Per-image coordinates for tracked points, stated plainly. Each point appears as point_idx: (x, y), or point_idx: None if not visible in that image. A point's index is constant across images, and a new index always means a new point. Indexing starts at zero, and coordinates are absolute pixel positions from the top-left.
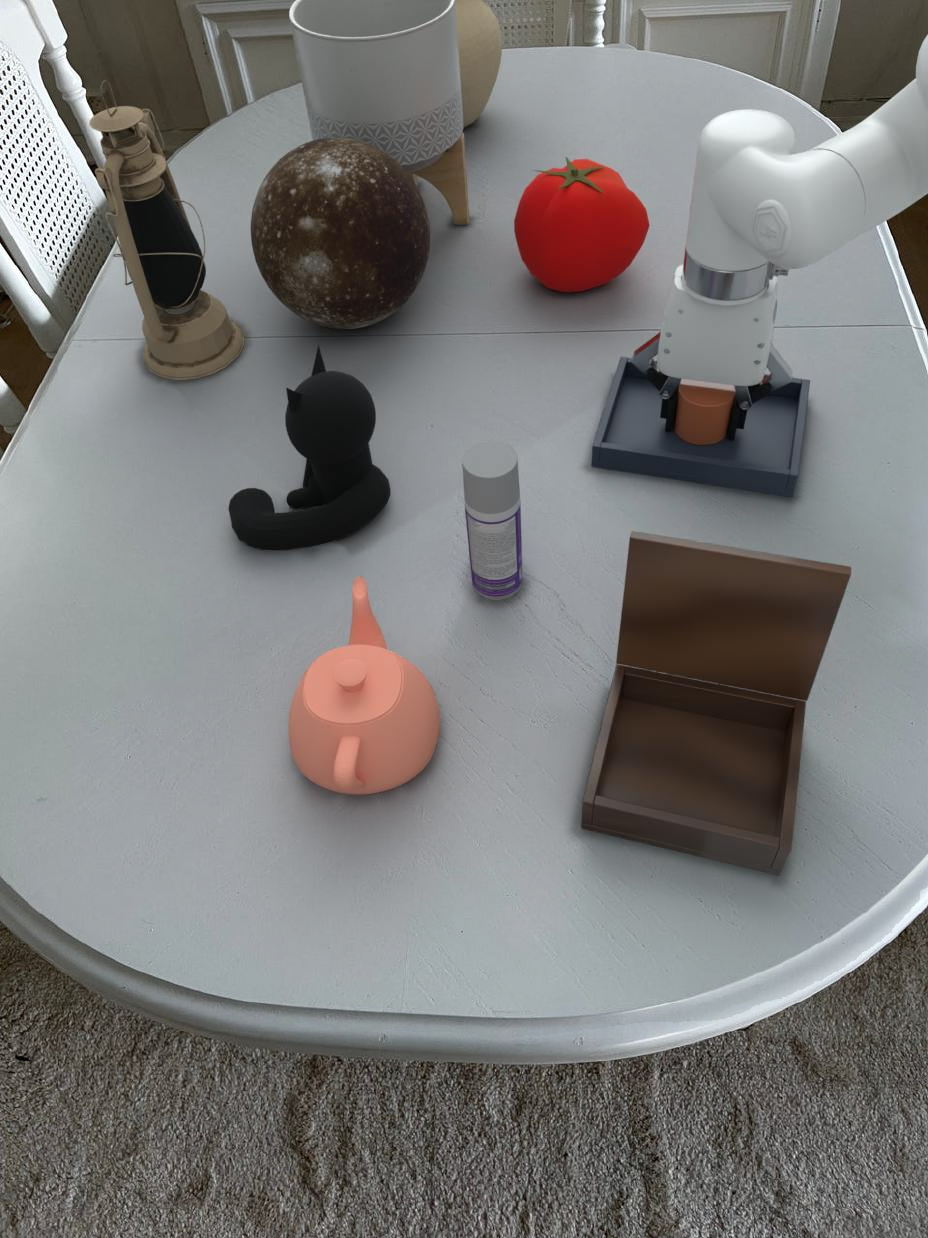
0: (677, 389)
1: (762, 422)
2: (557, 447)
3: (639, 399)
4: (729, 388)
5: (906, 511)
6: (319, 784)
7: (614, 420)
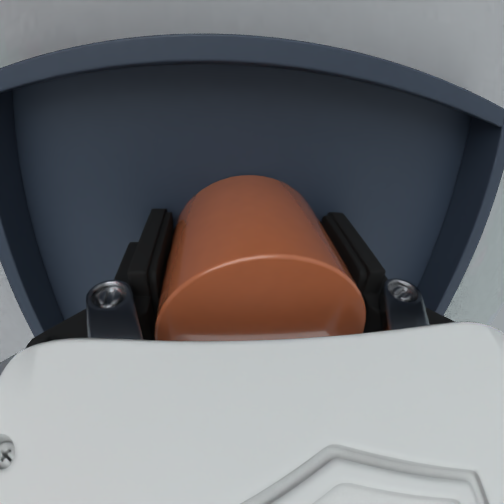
0: (154, 299)
1: (394, 202)
2: (9, 309)
3: (64, 170)
4: (341, 333)
5: (490, 315)
6: None
7: (46, 257)
